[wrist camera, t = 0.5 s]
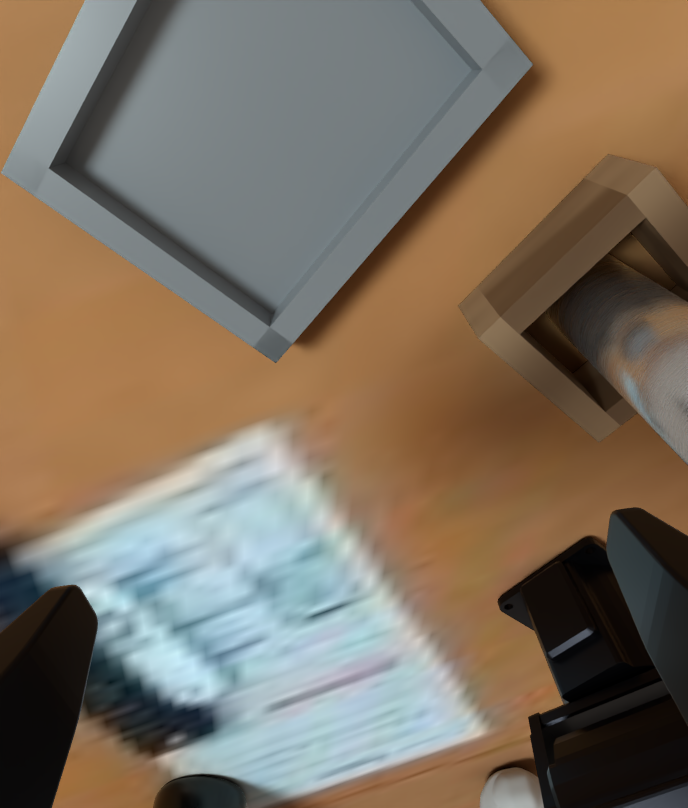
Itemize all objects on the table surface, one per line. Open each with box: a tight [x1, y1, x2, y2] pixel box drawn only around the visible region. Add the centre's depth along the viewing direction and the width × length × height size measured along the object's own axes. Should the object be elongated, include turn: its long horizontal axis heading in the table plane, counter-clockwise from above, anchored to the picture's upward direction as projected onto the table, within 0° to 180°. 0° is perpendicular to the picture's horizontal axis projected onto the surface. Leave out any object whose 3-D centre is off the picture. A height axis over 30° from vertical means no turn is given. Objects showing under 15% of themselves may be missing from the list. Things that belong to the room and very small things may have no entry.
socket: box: [458, 154, 688, 442], centre depth 19 cm, size 7×7×3 cm
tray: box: [1, 0, 533, 363], centre depth 16 cm, size 10×12×2 cm
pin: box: [545, 254, 688, 465], centre depth 16 cm, size 3×3×10 cm
